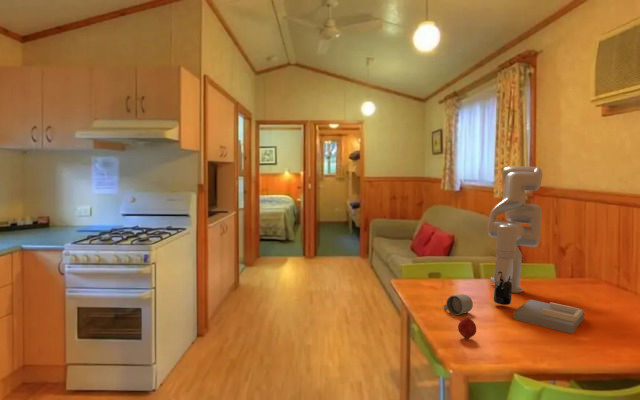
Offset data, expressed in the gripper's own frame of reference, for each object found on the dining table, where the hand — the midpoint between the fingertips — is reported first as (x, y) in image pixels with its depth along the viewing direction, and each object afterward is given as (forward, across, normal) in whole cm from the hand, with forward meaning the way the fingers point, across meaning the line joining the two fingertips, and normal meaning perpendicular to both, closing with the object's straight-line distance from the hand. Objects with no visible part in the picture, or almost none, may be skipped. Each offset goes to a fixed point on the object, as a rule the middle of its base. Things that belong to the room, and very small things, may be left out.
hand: (502, 295), depth 175 cm
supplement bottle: (+3, 0, 0) cm, 3 cm away
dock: (+5, +1, +18) cm, 19 cm away
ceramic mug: (+5, +22, -11) cm, 25 cm away
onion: (+4, +45, +3) cm, 45 cm away
